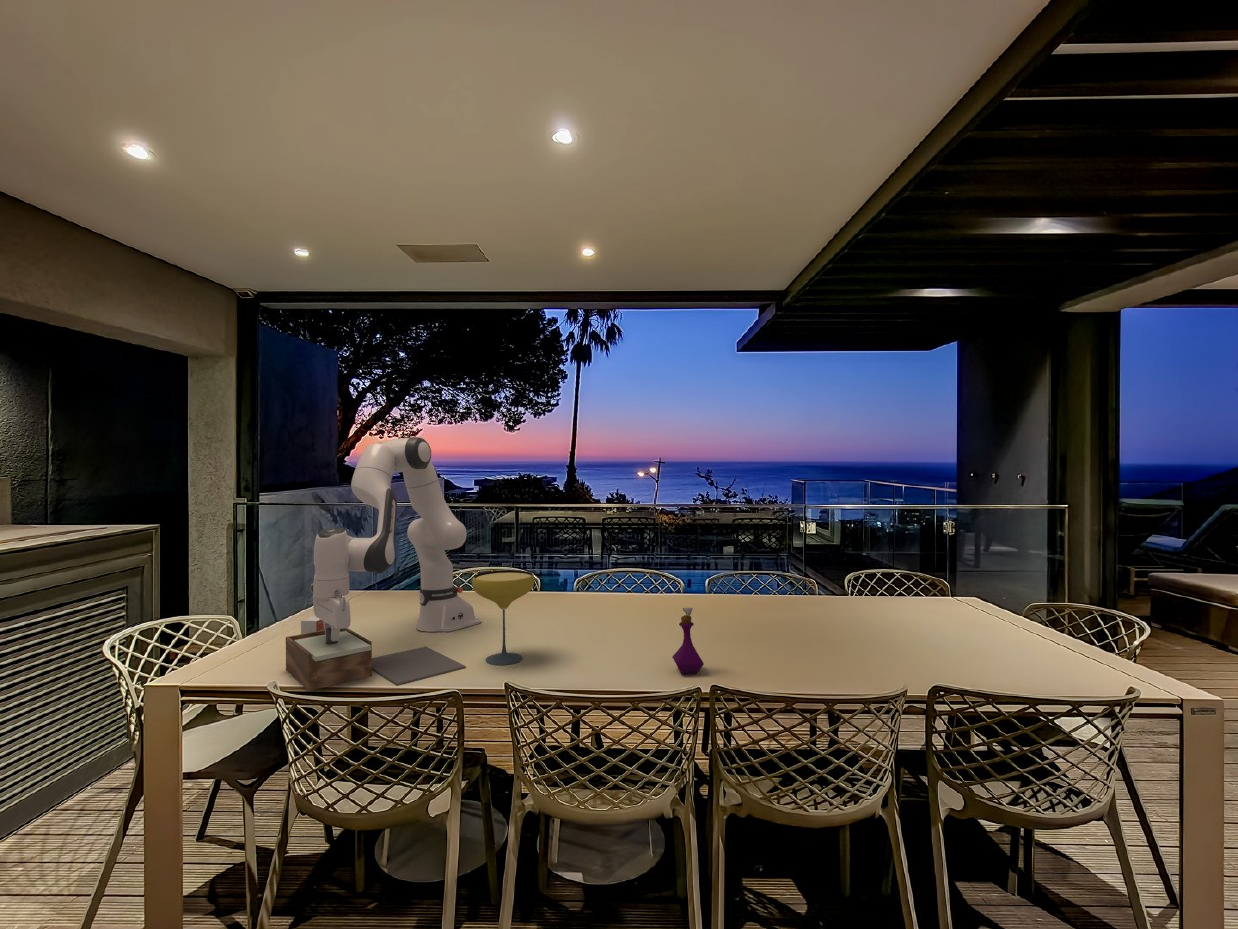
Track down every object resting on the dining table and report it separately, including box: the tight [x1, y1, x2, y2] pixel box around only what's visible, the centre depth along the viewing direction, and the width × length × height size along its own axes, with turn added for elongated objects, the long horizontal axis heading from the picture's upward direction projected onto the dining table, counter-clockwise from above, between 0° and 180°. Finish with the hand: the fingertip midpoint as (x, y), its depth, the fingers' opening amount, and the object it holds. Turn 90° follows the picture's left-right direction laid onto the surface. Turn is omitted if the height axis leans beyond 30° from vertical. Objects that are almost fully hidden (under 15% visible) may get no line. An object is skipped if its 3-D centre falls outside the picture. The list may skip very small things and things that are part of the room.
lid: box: [294, 627, 371, 661], centre depth 165 cm, size 14×20×5 cm
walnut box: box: [285, 627, 373, 692], centre depth 168 cm, size 16×22×9 cm
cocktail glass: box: [471, 569, 535, 666], centre depth 179 cm, size 18×18×25 cm
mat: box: [372, 646, 467, 687], centre depth 174 cm, size 20×26×1 cm
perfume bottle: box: [672, 607, 705, 676], centre depth 166 cm, size 8×8×18 cm
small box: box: [300, 615, 325, 634], centre depth 188 cm, size 8×6×10 cm
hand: (331, 638), depth 165 cm, fingers closed on lid, 3 cm apart
